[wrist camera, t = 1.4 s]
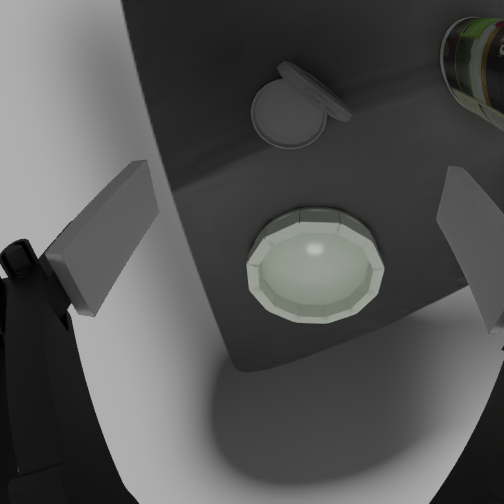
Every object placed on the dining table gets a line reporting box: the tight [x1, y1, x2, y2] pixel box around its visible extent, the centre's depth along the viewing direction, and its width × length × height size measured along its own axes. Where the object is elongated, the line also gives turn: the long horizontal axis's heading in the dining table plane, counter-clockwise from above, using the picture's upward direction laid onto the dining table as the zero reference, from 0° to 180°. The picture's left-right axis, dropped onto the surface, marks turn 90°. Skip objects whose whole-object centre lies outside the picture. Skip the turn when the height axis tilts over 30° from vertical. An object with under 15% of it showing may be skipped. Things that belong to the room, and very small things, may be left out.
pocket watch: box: [251, 60, 353, 149], centre depth 22 cm, size 8×8×10 cm
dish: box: [247, 206, 384, 324], centre depth 35 cm, size 15×15×3 cm
